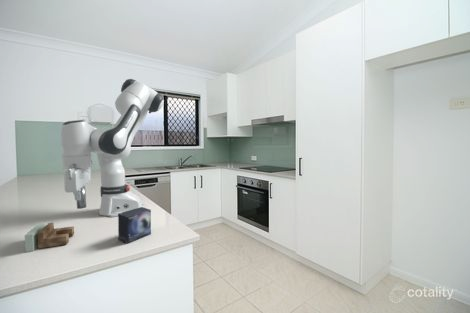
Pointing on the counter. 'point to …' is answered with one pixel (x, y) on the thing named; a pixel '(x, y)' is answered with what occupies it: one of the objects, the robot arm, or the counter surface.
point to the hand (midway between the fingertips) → (79, 198)
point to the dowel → (82, 199)
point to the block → (54, 236)
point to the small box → (134, 224)
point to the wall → (33, 237)
